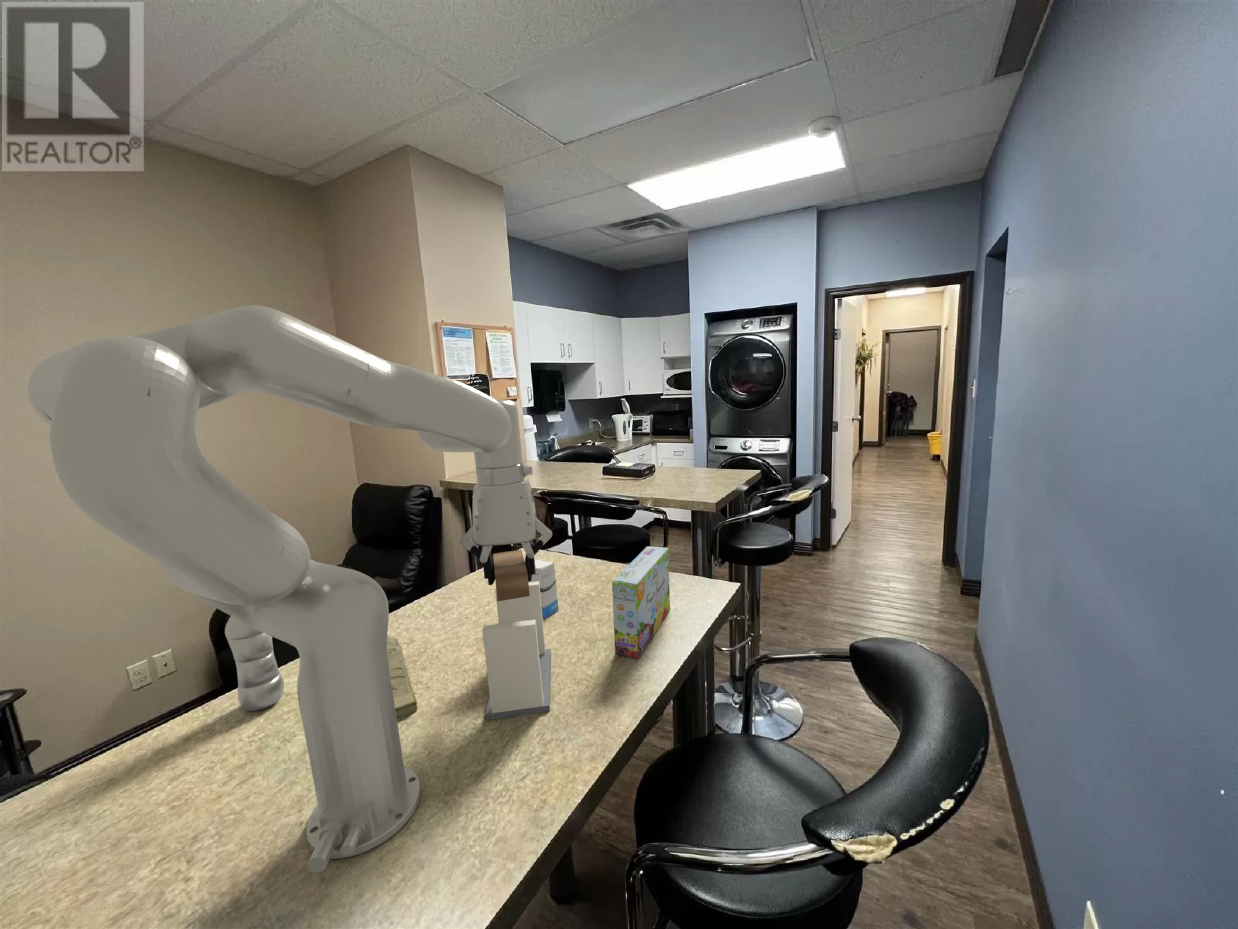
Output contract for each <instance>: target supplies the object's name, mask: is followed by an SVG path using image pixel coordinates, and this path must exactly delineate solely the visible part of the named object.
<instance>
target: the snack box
mask: <svg viewBox="0 0 1238 929" xmlns="http://www.w3.org/2000/svg"><path fill="white" fill-rule="evenodd" d="M669 551H670V550H669V547H661V546H651V545H650V546H645V548H644V549H642V551H641V552H640V553H639V554H638V555H636V557H635V558H634V559H633V560H632V561H631V562H630V563H629V564H628V565H627V566H626V567H625V568H624V569H623V570H622V571H621V572H620V573H619V574H618V575H617V576H616V577H614V579H613V580H612V581H611V588H612V590H611V591H612V610H613V633H614V634H613V635H614V637H613V638H614V654H615V655H620V656H624V657H629V658H635V659H640V657H641V656H642V654H643V653H644V651H645V649H646V648H647V646H648V645H649V643H650V641H651V640H652V639H653V637H654V635H655V633H656V632H657V631H658V629H659V628H660V626H661V625H662V623H663V621H664V620H665V619H666V617H667V615H668V614H669V613H670V611H671V600H670V561H669V560H670V557H669V553H670V552H669Z"/></svg>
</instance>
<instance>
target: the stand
mask: <svg viewBox="0 0 1238 929" xmlns="http://www.w3.org/2000/svg"><path fill="white" fill-rule="evenodd" d="M528 583H529V594H530V596H527V597H521V598H515V599H510V600H504V601H497V592H496V587H495V591H494V592H495V600H496V611H497V619H498V623H495V624H486V625H483V627H482V639H483V648H484V658H485V666H486V672H487V683H488V691H489V696H488V700H487V705H486V709H485V720H486V721H489V720H496V719H500V718H501V719H502V718H503V719H504V718H509V717H517V716H522V715H523V716H524V715H531V714H538V713H544V712H545V713H546V712H551V678H552V677H551V673H552V672H551V670H552V667H551V666H552V650H551V648H546V642H545V640H546V639H545V631H544V630H545V629H544V620H543V617H542V607H541V596H540V586H539V581H537V582H528Z"/></svg>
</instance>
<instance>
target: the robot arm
mask: <svg viewBox="0 0 1238 929" xmlns="http://www.w3.org/2000/svg"><path fill="white" fill-rule="evenodd" d="M253 392H258V393H262V394H267V395H271V396H273V397H276V398H279V399H282V400H285V401H288V402H291V403H295V404H298V405H302V406H305V407H307V408H310V409H314V410H316V411H319V412H322V413H325V414H329V415H331V416H334V417H337V418H339V419H343V420H345V421H349V422H352V423H355V424H358V425H364V426H368V427H374V428H381V429H394V430H406V431H408V430H409V431H410V430H411V431H417V433H418V437H419V438H420V440H421V442H423V444H425V445H426V446H427V447H428V448H430V449H431V450H435V451H438V452H444V453H474V463H475V474H476V482H477V484H475V485H474V486H473V489H472V490H473V491H472V492H473V493H472V526H471V527H470V528H469V529H468V530H467V532H466V533H465V534H464V536H463V537H462V538H461V539H460V541H459V544H460V546H462V548H465V549H466V550H468V551H469V552H470V553H471V554H473V555H474V556H475V557H476V558H477V559H479V561H480V563H482V567H483V568H482V569H483V575H484V576H483V578H484V580H487V583H488V584H487V585H488V586H492V585H494V583H495V571H494V558H493V555H492V554H491V551H492V548H493V546H503V545H505V546H506V545H515V544H521V546H522V548H523V550H524V552H525V557H524V560H525V565H526V569H527V573H528V582H530V581H531V579H532V575H533V574H535V573H536V570H535V556H536V555H537V553H538V552H540V550H541V549H542V548H543V546H544V545H545V544H546V543H547V542H548V541H550V539H551V538H552V536H553V531H552V530H551V529H550V528H549V527H547V526H546V525H545V523H543V522H542V521H540V520H539V519H538V517H537V511H536V505H535V504H536V503H535V498H534V494H533V490H532V485H531V483H530V480H529V479H528V480H527V479H525V478H527V477H528V476H530V475H533V466H527V465H525V464H524V462H523V451H522V443H521V442H522V441H521V430H520V429H521V428H520V419H519V412H518V411H519V410H518V406H517V404H516V402H515V401H513V400H512V399H511V400H510V399H496V398H493V397H491V396H489V395H488V394H486V393H484V392H482V391H480V390H479V389H476V388H474V387H472V386H470V385H468V384H465V383H463V382H460V381H458V380H455V379H452V378H448V377H445V376H442V375H438V374H435V373H431V372H428V371H424V370H420V369H418V368H415V367H411V366H409V365H404V364H401V363H397V362H392V361H390V360H386V359H384V358H382V357H380V356H377V355H375V354H372V353H371V352H368V351H366V350H364V349H362V348H360V347H358V346H356V345H353V344H352V343H349V342H347V341H345V340H343V339H342V338H339V337H337V336H334V335H332V334H330V333H328V332H326V331H325V330H321V329H320V328H318V327H315V326H314V325H311V324H310V323H307V322H305V321H302V320H300V319H299V318H297V317H294V316H292V315H290V314H288V313H285V312H283V311H281V310H278V309H274V308H271V307H268V306H265V305H244V306H239V307H235V308H230V309H227V310H224V311H220V312H217V313H214V314H211V315H208V316H204V317H202V318H201V317H200V318H198V319H195V320H192V321H187V322H184V323H181V324H177V325H174V326H170V327H166V328H162V329H157V330H154V331H149V332H145V333H141V334H136V335H135V334H134V335H131V336H126V335H125V336H122V335H121V336H120V335H119V336H106V337H100V338H96V339H92V340H88V341H85V342H82V343H79V344H76V345H74V346H72V347H69V348H67V349H64V350H61V351H58V352H56V353H53V354H51V355H50V356H47V357H46V358H44V359H43V360H42V361H41V362H40V363H39V364H38V365H37V366H36V367H35V368H34V370H33V371H32V373H31V374H30V376H29V379H28V384H27V395H28V396H27V397H28V398H29V402H30V404H31V406H32V407H33V409H34V410H35V412H36V414H37V415H38V416H40V417H41V419H42V420H43V421H45V422H46V423H47V424H49V425H50V428H49V446H50V453H51V458H52V461H53V466H54V468H55V472H56V474H57V476H58V479H59V482H60V484H61V485H62V487H63V489H64V491H65V492H66V494H67V495H68V497H69V499H71V501H72V502H73V503H74V504H75V505H76V506H77V507H78V508H79V510H81V511H82V512H83V513H84V514H85V515H86V516H87V517H89V519H91V520H93V522H95V523H96V524H98V525H99V526H101V527H102V528H104V529H105V530H107V531H109V532H110V533H112V534H114V535H115V536H117V537H118V538H120V539H121V540H123V541H125V542H127V543H128V544H129V545H130V546H133V547H134V548H136V549H138V550H139V551H141V553H143V554H145V555H146V556H148V557H149V558H151V559H153V560H155V561H157V562H159V563H160V566H161V568H162V571H163V572H164V574H165V575H166V578H168V579H169V581H171V583H173V584H174V585H176V586H177V587H178V588H179V589H182V590H183V591H185V592H186V593H188V594H190V595H192V596H194V597H195V598H197V599H199V600H201V601H202V602H204V603H206V604H208V605H211V606H212V607H214V608H216V609H217V610H220V611H221V612H223V613H225V614H227V615H229V616H230V617H231V616H232V617H234V618H236V619H238V620H240V621H242V622H244V623H246V624H248V625H250V626H251V627H253V628H255V629H257V630H259V631H261V632H263V633H265V634H267V635H270V636H272V638H275V639H277V640H279V641H282V642H284V643H285V644H288V645H290V646H293V647H294V648H296V650H297V652H298V655H299V671H298V674H297V675H298V676H297V681H296V682H297V683H296V684H297V685H296V686H297V687H296V689H297V690H296V691H297V692H296V693H297V700H298V706H299V712H300V717H301V720H302V726H303V731H304V737H305V741H306V747H307V753H308V758H309V764H310V765H309V766H310V770H311V774H312V780H313V785H314V791H315V796H316V802H317V805H316V806H315V808H314V810H313V811H312V812H311V814H310V816H309V818H308V821H307V825H306V830H305V831H306V832H305V833H306V838H307V844H308V846H309V848H310V850H311V851H312V854H311V855H310V858H309V860H308V861H307V863H306V868H307V870H308V871H309V872H311V873H313V874H319V873H322V872H323V871H324V870H325V869H326V868H327V867H328V863H329V862H330V860H331V859H332V860H333V859H344V858H350V857H354V856H356V855H357V856H358V855H360V854H363V853H366V852H368V851H370V850H372V849H374V848H376V847H378V846H379V845H381V844H383V843H384V842H386V841H387V840H390V838H391V837H393V836H394V835H395V834H396V833H397V832H399V831H400V830H401V829H402V828H403V826H404V825H406V824H407V823H408V821H409V820H410V819H411V817H412V816H413V814H415V811H416V810H417V808H418V805H419V803H420V800H421V795H422V794H421V793H422V788H421V781H420V779H419V775H418V774H417V773H416V771H415V770H414V769H411V768H410V767H408V766H405V763H404V757H403V751H402V745H401V738H400V737H401V736H400V732H399V726H398V725H399V723H398V718H397V717H396V710H395V703H394V696H393V689H392V683H391V678H390V671H389V663H388V652H387V637H388V633H389V632H388V630H389V615H390V614H389V612H390V611H389V608H390V606H389V601H388V598H387V596H386V593H385V591H384V589H383V588H382V586H381V585H380V584H379V583H378V582H377V581H376V580H375V579H373V578H372V577H371V576H369V575H367V574H365V573H363V572H361V571H358V570H355V569H352V568H346V567H342V566H338V565H335V564H327V563H324V562H318V561H315V560H313V559H311V553H310V550H309V549H310V548H309V546H308V543H307V542H306V540H305V538H304V537H303V536H302V535H301V532H299V531H298V530H297V529H296V528H295V527H293V526H292V525H291V524H290V523H289V522H288V521H285V520H284V519H282V518H281V517H279V516H278V515H276V514H275V513H273V512H272V511H270V510H268V508H267V507H265V506H263V505H262V504H261V503H259V502H258V501H256V500H255V499H254V498H253V497H251V496H250V495H248V494H247V493H245V491H243V490H242V489H240V488H238V487H237V485H235V484H234V483H232V482H231V481H230V480H228V479H227V478H226V477H225V476H224V475H223V474H222V473H220V472H219V471H218V470H217V469H216V467H213V465H211V464H210V462H208V460H207V459H206V458H205V456H204V455H203V453H202V452H201V449H200V448H199V445H198V441H197V440H198V439H197V437H196V436H197V435H196V422H197V416H198V410H201V409H204V408H206V407H209V406H212V405H214V404H217V403H220V402H222V401H225V400H228V399H231V398H233V397H235V396H238V395H241V394H245V393H253ZM537 532H538V533H540V535H541V536H540V537H539V538H538V539H536V540H535V538H536V533H537ZM473 539H474V541H473ZM534 540H535V542H533V541H534Z"/></svg>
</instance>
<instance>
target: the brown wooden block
mask: <svg viewBox="0 0 1238 929" xmlns="http://www.w3.org/2000/svg"><path fill="white" fill-rule="evenodd" d="M492 557H493V558H494V571H495V581H494V583H495V588H496V592H497V601H504V600H510V599H515V598H521V597H527V596H530V594H529V583H528V573H527V569H526V565H525V561H524V560H525V557H524V553H523V551H522V549H519V550H518V549H517V550H516V549H515V550H511V551H503V552H497V553H496V552H495V553H493V554H492Z"/></svg>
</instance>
